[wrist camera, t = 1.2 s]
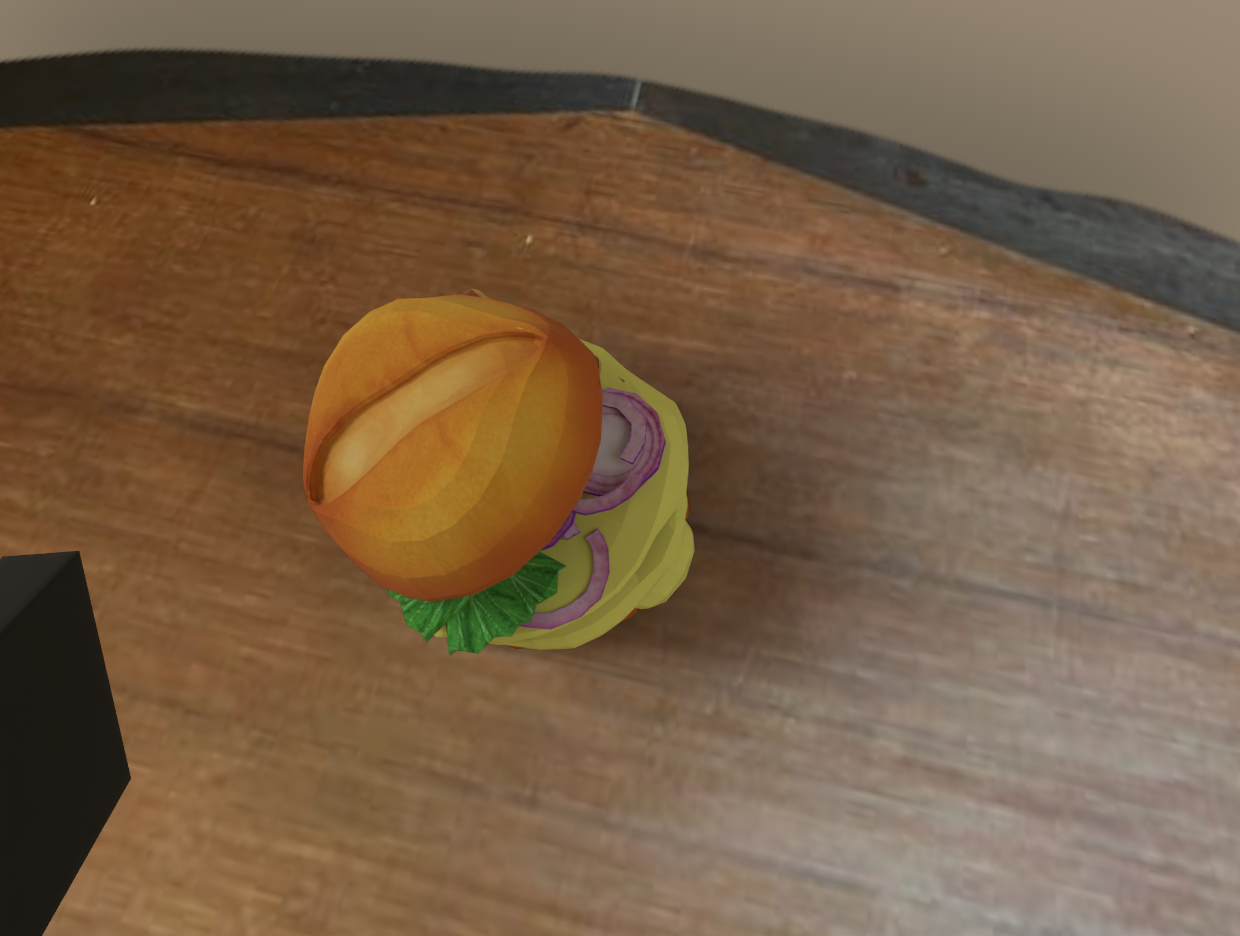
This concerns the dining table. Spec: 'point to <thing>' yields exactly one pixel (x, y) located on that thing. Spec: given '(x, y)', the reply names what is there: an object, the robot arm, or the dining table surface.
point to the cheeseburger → (498, 473)
